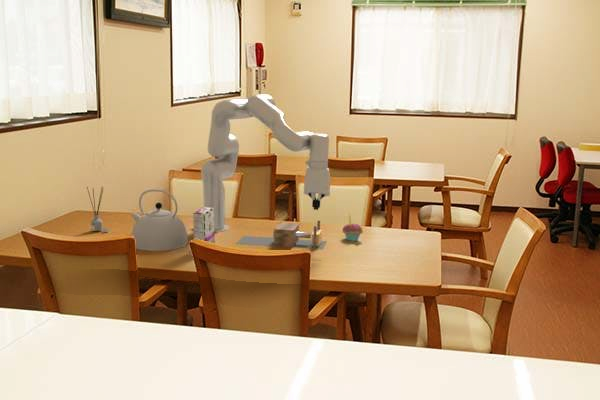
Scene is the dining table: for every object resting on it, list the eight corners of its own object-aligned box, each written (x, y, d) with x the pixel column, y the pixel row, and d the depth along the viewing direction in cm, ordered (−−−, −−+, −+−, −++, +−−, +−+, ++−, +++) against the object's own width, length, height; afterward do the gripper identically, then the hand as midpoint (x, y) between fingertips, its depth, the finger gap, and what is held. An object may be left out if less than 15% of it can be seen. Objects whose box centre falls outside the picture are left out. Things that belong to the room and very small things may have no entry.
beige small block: (311, 246, 265) (311, 234, 264) (314, 241, 273) (314, 229, 272) (318, 246, 264) (319, 234, 263) (321, 241, 272) (321, 229, 271)
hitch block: (274, 245, 266) (274, 224, 264) (280, 238, 277) (280, 217, 275) (315, 248, 263) (316, 226, 261) (319, 241, 274) (320, 220, 273)
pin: (273, 240, 269) (273, 229, 268) (275, 237, 273) (275, 226, 273) (309, 242, 267) (309, 231, 266) (311, 239, 271) (311, 228, 270)
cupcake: (348, 243, 273) (349, 215, 271) (338, 238, 281) (339, 211, 278) (366, 241, 277) (367, 214, 275) (355, 236, 285) (356, 210, 282)
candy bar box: (203, 246, 265) (202, 206, 262) (214, 247, 264) (214, 207, 261) (193, 253, 254) (192, 212, 251) (205, 254, 253) (205, 213, 250)
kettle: (114, 246, 263) (112, 191, 258) (147, 233, 284) (145, 182, 279) (168, 253, 254) (167, 196, 250) (197, 240, 275) (197, 187, 270)
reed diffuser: (84, 231, 285) (82, 186, 281) (94, 227, 291) (92, 183, 287) (104, 233, 282) (103, 188, 278) (114, 230, 288) (112, 185, 284)
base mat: (235, 245, 268) (235, 243, 268) (243, 237, 280) (243, 235, 280) (322, 250, 262) (322, 249, 262) (326, 242, 274) (327, 241, 274)
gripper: (298, 164, 260) (296, 209, 264) (335, 167, 257) (333, 212, 261) (301, 162, 267) (299, 205, 271) (337, 164, 265) (335, 208, 268)
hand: (316, 209), depth 266 cm, fingers closed
